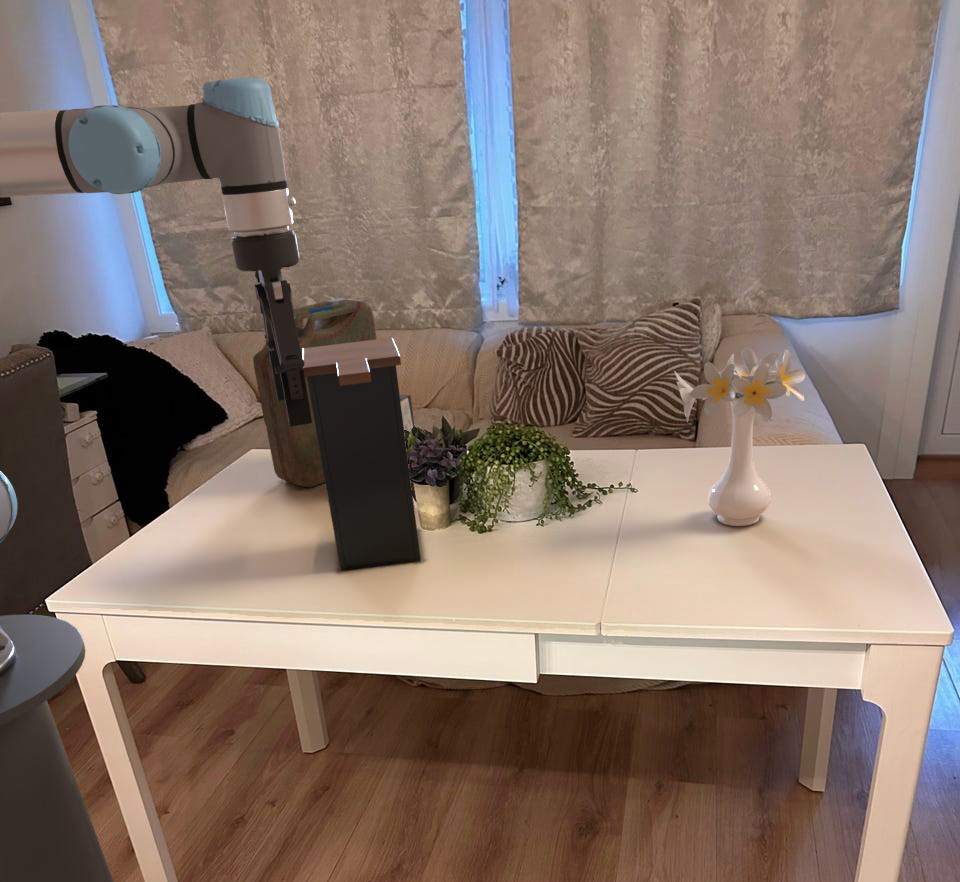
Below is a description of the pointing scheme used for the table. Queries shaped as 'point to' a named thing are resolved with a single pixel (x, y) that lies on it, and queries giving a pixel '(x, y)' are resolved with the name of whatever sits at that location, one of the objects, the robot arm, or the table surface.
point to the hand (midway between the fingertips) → (294, 411)
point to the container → (299, 443)
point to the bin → (366, 469)
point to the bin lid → (351, 359)
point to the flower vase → (743, 426)
